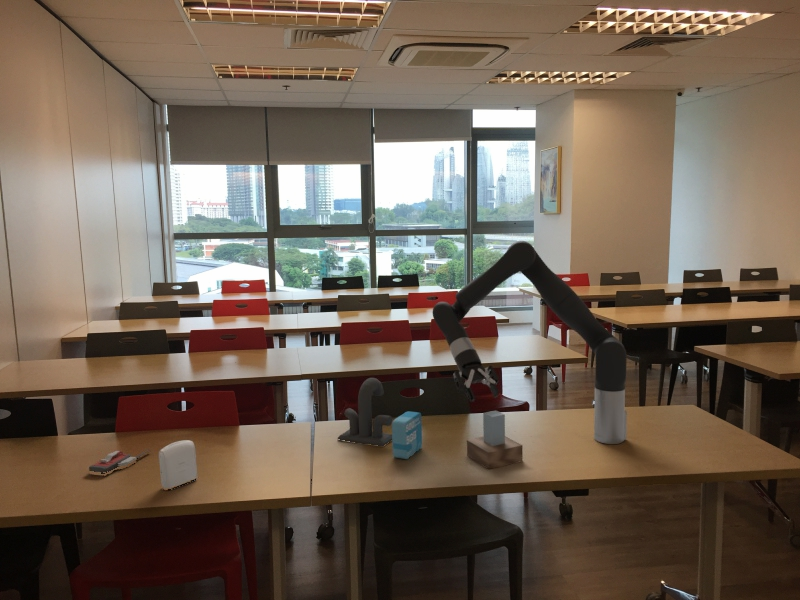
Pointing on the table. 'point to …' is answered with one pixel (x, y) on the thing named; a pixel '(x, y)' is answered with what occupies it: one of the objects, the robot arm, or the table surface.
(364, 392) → the faucet
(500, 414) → the slate block
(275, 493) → the table surface
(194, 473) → the photo printer
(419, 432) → the light blue box
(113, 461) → the walkie-talkie
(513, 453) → the walnut base
